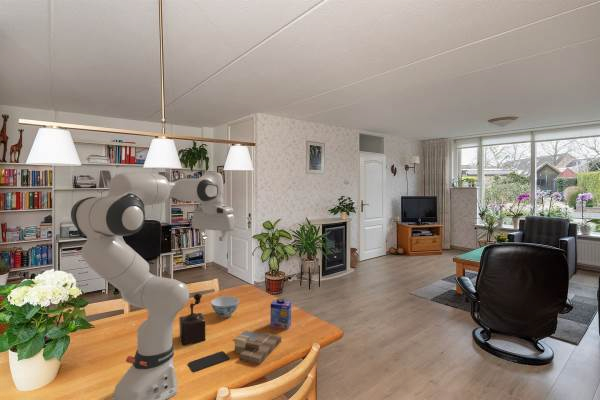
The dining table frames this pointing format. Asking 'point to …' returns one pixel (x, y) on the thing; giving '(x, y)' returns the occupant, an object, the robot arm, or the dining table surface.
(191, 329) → the coffee grinder
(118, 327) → the dining table surface
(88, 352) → the dining table surface
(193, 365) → the phone
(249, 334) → the slate pad
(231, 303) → the chinaware
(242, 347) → the marking gauge
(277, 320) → the ink cartridge box
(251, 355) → the walnut board
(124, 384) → the robot arm
